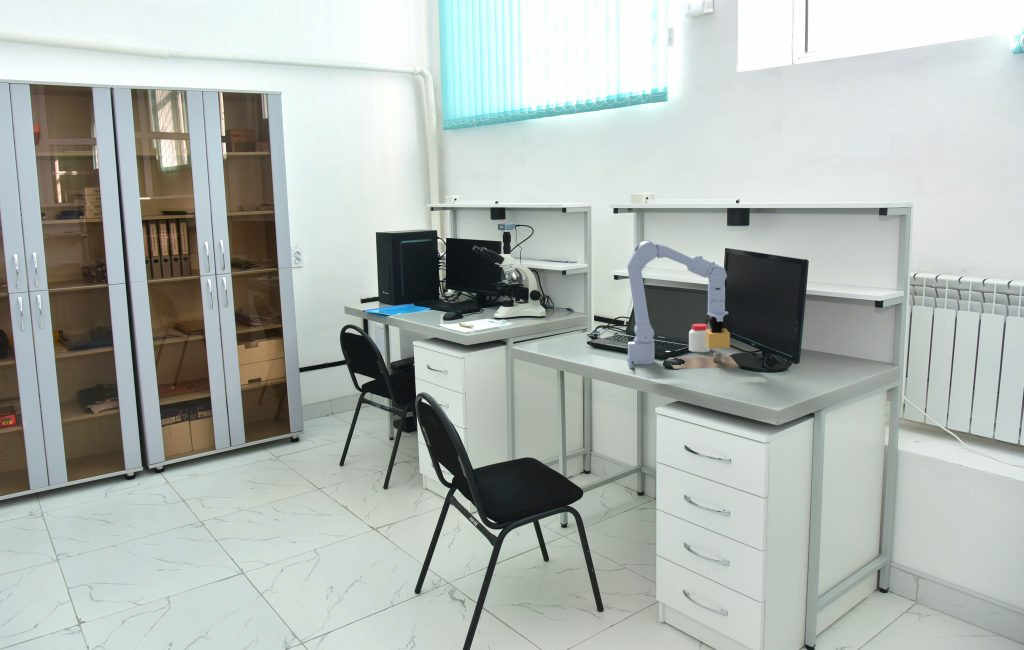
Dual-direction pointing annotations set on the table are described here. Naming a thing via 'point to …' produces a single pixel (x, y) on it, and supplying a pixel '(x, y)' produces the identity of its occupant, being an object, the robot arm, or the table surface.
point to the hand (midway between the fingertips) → (716, 338)
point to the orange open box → (718, 339)
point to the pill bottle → (698, 338)
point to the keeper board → (707, 362)
